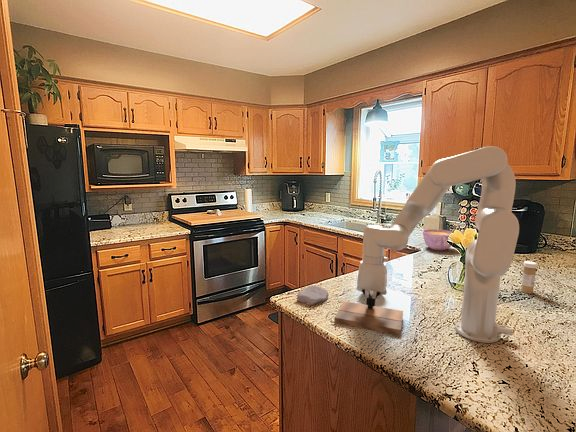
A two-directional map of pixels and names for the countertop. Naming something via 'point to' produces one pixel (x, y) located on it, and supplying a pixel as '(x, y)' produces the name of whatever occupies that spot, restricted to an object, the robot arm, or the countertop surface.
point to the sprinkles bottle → (528, 277)
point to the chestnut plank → (371, 311)
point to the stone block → (312, 295)
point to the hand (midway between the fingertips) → (370, 307)
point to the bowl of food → (436, 239)
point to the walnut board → (368, 322)
